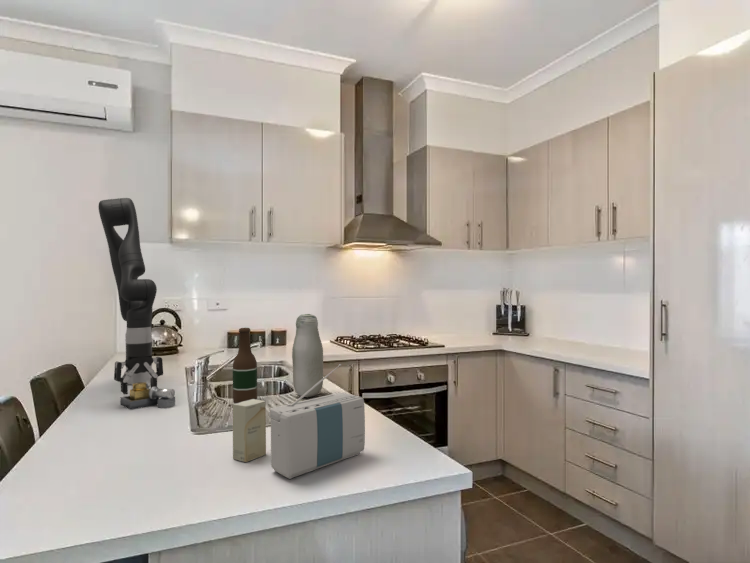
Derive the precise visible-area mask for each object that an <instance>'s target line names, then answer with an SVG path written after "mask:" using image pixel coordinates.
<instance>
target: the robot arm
mask: <svg viewBox="0 0 750 563" xmlns="http://www.w3.org/2000/svg"><path fill="white" fill-rule="evenodd" d="M136 209H137V208H136V206H135V203H134V201H133V200H132V198H129V197H118V198H111V199H110V198H109V199H102V200H100V201H99V202H98V214H99V218H100V221H101V225H102V228H103V230H104V231H103V232H104V234H105V238H106V242H107V248H108V252H109V258H110V263H111V268H112V271H113V275H114V279H115V283H116V288H117V292H118V293H117V295H118V302H119V310H120V315H121V318H122V319H123V321H124V322H126V331H125V339H124V340H125V361H115V362H114V370H113V371H114V374H113V380H114V381H115V382H118V383H120V392H121V393H122V394H123V395H128V393H129V392H128V391H129V389H128V388H129V387H128V386H129V385H132V386H133V383H137V382H143V381H146V380H147V381H149V382H150V384H151V385H150V388H151V387H153V386H156V387H158V377H160V376H163V375H164V367H163V366H164V364H163V358H162V356H156V357H153V336H152V335H153V331H152V330H153V328H152V327H153V305H154V302H155V300H156V296H157V290H158V289H157V285H156V284H157V283H155V281H153V280H152V279H149V278H148V279H147V278H141V279H140V278H139V277H141V276H143V275H145V272H146V266H145V261H144V257H143V254H142V249H141V248H142V247H141V241H140V231H139V230H140V228H139V221H138V216H137V215H138V214H137V211H136ZM120 226H127V227H128V228H127V232H126V234H125V236H124V239H123V238H122V237H121V236H120V235H119V234H118V232H117V231H116V229H115V227H120ZM153 363H154V365H155V368H156V370H154V369H153ZM124 367H125V371H124V373H123V375H122V369H123V368H124ZM155 371H156V372H155Z"/></svg>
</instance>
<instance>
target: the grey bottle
mask: <svg viewBox="0 0 750 563" xmlns="http://www.w3.org/2000/svg"><path fill="white" fill-rule="evenodd" d="M318 321H319V320H318V318H317V316H316V315H314V314H312V313H311V314H310V313H305V314H300V315H299V316H297V317H296V322H295V336H294V340H293V344H292V351H291V358H292V361H291V362H292V381H293V382H292V384H293V389H294V391H295V393H296V394H297V396H300V397H301V396H302V395H303V394H305V393H306V392H307V391H308V390H309V389H311V388H312V387H313V386H314V385H315V384H316V383H318V382H319V381H320V380H321V379H323V378H324V348H323V344H322V343H323V342H322V341H321V337H320V332H319V328H318V327H319V322H318ZM323 386H324V380H323V381H322V382H321V383H320V384H318V385H317V386H316V387H315V388H314V389H313V390H311V391H310V392H309V393H308V394H307V395H305V396H304V397H303V398H312V397H313V398H314V397H315V396H317V395H319V394H320V392H321V391H322V389H323Z"/></svg>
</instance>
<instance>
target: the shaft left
mask: <svg viewBox="0 0 750 563" xmlns="http://www.w3.org/2000/svg"><path fill="white" fill-rule="evenodd" d="M143 382H146V388H147V389H150V388H151V382H149V381H147V380H146V381H143Z"/></svg>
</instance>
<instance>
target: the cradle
mask: <svg viewBox="0 0 750 563" xmlns="http://www.w3.org/2000/svg"><path fill="white" fill-rule="evenodd" d="M158 399H160V398H156V399H150V398H146V399H140V400H134V401H131V400H130V395H124V396H121V397H120V398H119V400H120V401H119V402H120V403H119V404H120V406H122V407H124V408H126V409H128V410H130V411H131V410H136V409H141V407H142V408H145V407H147V408H148V407H150V406H151V407H152V406H156V405H157V404H158ZM157 406H158V405H157Z"/></svg>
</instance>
